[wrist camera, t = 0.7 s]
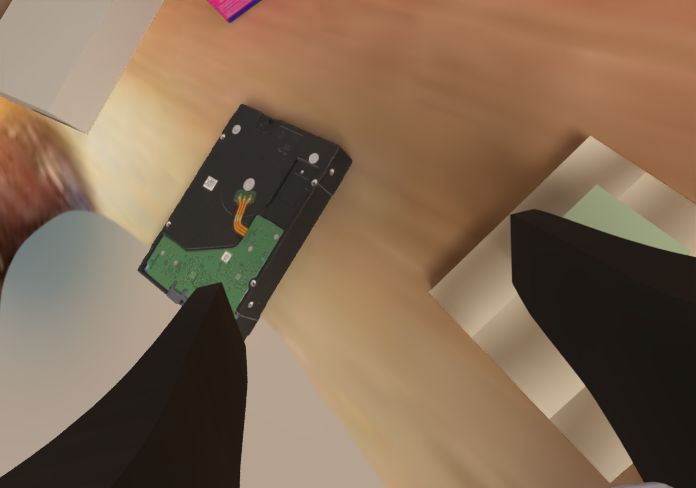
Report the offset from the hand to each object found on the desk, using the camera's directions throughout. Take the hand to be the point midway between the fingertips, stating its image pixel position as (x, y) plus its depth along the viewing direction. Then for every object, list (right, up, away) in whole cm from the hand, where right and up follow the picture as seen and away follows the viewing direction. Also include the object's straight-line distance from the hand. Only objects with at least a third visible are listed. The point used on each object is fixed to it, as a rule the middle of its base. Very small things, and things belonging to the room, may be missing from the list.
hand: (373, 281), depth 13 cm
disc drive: (-27, +24, +42) cm, 56 cm away
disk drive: (-7, +2, +25) cm, 26 cm away
